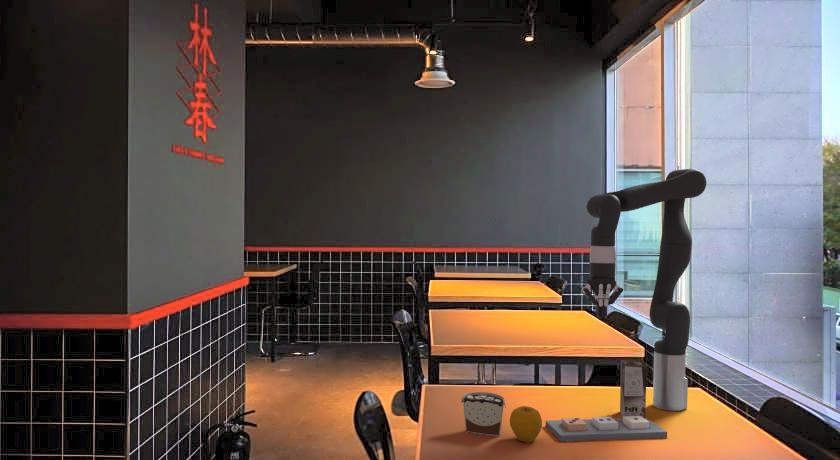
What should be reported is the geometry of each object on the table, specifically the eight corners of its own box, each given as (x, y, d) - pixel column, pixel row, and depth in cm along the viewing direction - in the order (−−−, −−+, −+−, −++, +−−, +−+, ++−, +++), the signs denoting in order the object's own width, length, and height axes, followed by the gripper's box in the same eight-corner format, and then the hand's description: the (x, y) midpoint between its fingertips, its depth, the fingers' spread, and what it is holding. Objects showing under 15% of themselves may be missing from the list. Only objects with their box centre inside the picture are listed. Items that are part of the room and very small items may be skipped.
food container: (509, 430, 173) (510, 394, 172) (505, 437, 167) (505, 400, 167) (466, 424, 177) (467, 389, 176) (460, 431, 171) (461, 395, 171)
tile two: (609, 425, 175) (610, 416, 175) (618, 432, 170) (618, 422, 170) (592, 426, 174) (592, 416, 174) (599, 432, 169) (600, 422, 169)
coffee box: (646, 422, 181) (647, 367, 180) (623, 420, 182) (624, 365, 182) (641, 412, 190) (642, 360, 189) (619, 411, 191) (620, 358, 190)
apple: (507, 434, 169) (508, 401, 169) (538, 434, 169) (539, 402, 169) (511, 445, 161) (511, 411, 161) (544, 446, 160) (544, 412, 160)
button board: (645, 423, 180) (645, 417, 180) (667, 437, 168) (667, 431, 168) (545, 426, 176) (545, 420, 176) (560, 441, 164) (560, 435, 164)
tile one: (640, 424, 176) (640, 415, 176) (649, 431, 171) (649, 421, 171) (622, 425, 175) (622, 415, 175) (631, 431, 170) (631, 421, 170)
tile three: (579, 426, 174) (579, 416, 174) (586, 433, 169) (586, 423, 169) (561, 427, 173) (561, 417, 173) (568, 433, 168) (568, 423, 168)
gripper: (617, 260, 191) (616, 316, 191) (576, 260, 189) (575, 316, 190) (629, 262, 184) (628, 320, 184) (586, 261, 182) (585, 320, 182)
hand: (601, 318), depth 187 cm, fingers closed
